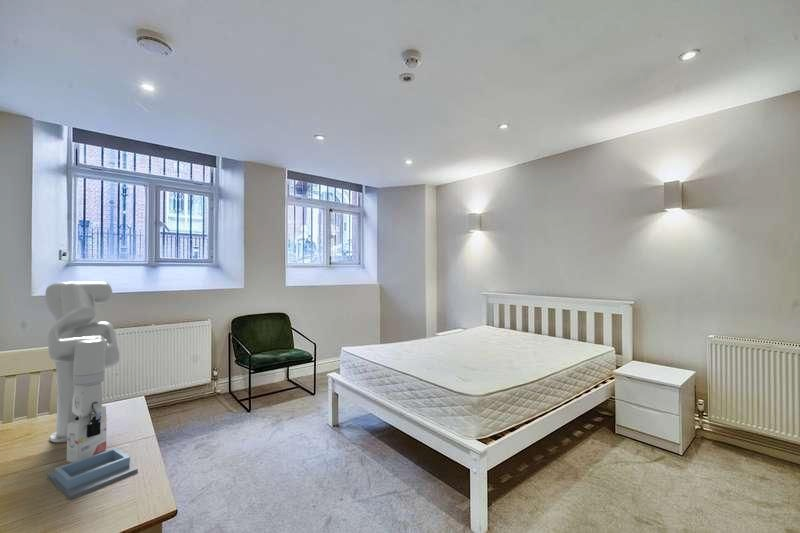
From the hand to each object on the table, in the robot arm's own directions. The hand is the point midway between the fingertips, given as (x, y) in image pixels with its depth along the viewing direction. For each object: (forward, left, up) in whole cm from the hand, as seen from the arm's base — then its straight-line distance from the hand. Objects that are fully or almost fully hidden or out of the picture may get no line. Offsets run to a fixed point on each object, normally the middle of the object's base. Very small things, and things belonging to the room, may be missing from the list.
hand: (87, 431), depth 111 cm
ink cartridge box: (0, 0, -8) cm, 8 cm away
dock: (+15, -3, -7) cm, 17 cm away
